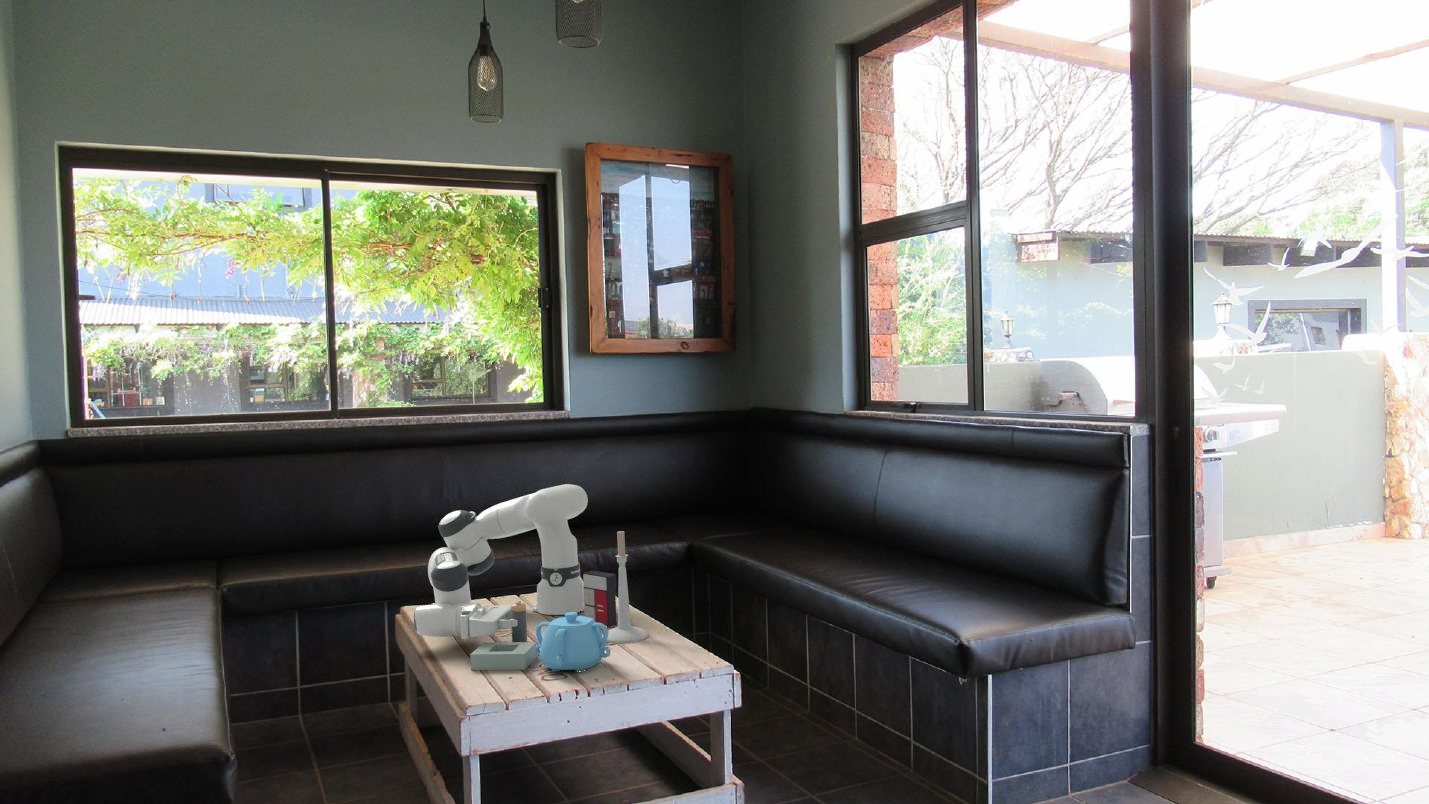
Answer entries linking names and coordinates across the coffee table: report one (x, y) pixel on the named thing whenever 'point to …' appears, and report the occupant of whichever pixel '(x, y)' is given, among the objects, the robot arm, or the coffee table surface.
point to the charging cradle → (503, 656)
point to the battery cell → (519, 622)
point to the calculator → (600, 597)
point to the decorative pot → (572, 643)
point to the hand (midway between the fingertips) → (522, 618)
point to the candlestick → (624, 604)
